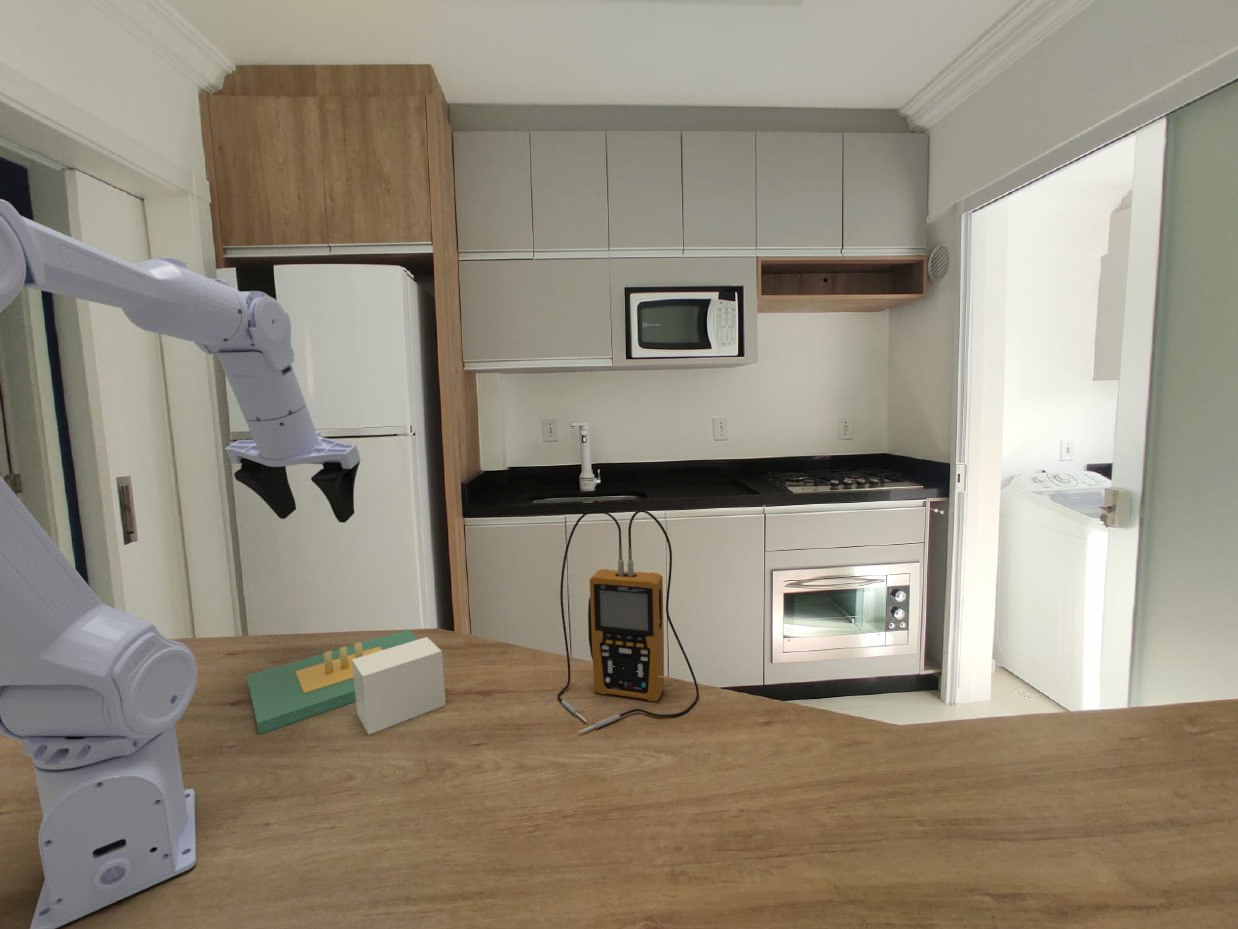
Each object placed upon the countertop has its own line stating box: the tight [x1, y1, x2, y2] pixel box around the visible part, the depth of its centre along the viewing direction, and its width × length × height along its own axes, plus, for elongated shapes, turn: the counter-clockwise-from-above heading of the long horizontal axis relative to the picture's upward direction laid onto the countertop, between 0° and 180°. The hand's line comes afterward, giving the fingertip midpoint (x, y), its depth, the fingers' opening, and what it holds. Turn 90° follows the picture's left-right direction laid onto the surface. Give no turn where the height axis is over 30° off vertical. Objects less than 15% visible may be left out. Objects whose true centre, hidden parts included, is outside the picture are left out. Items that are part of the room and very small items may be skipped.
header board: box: [246, 629, 419, 735], centre depth 63 cm, size 12×18×4 cm, turn 128°
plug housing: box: [352, 636, 447, 736], centre depth 56 cm, size 4×8×6 cm, turn 128°
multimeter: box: [556, 509, 700, 734], centre depth 54 cm, size 15×10×20 cm
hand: (317, 515), depth 63 cm, fingers open, 7 cm apart
